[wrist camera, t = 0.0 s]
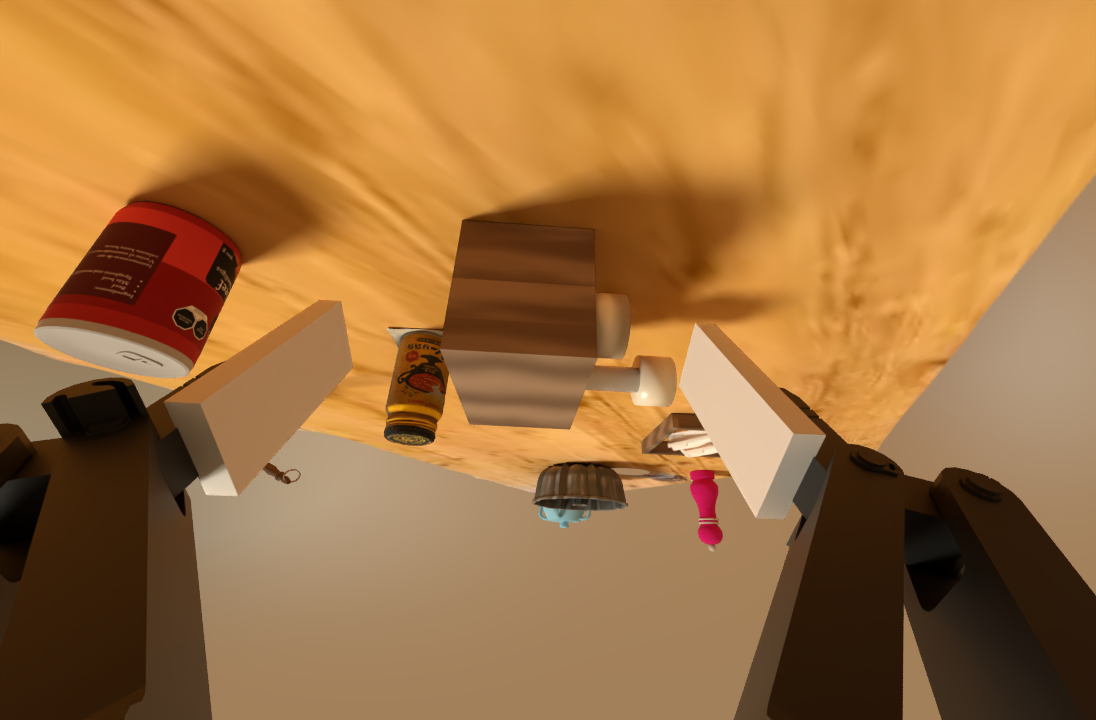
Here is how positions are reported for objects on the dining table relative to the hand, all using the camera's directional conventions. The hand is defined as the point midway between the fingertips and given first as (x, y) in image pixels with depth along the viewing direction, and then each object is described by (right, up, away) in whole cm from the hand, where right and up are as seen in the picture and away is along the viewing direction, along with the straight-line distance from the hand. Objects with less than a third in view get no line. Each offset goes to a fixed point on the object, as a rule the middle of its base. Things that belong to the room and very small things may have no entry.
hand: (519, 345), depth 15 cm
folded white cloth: (+31, -14, +62) cm, 70 cm away
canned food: (-29, +10, +18) cm, 35 cm away
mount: (0, +6, +22) cm, 23 cm away
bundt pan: (+10, -32, +98) cm, 104 cm away
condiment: (-14, +1, +33) cm, 36 cm away
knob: (+5, 0, +24) cm, 24 cm away
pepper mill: (+44, -32, +96) cm, 110 cm away
